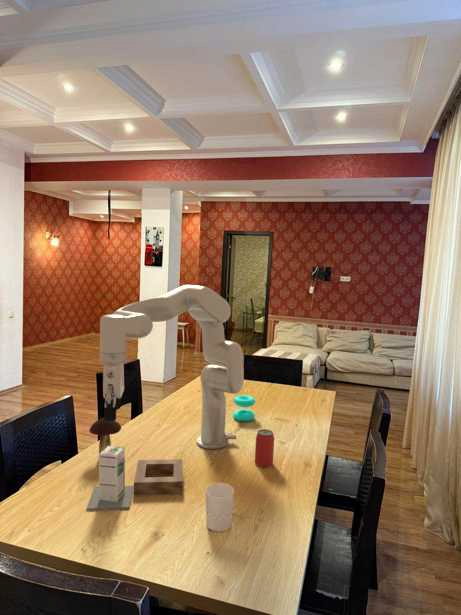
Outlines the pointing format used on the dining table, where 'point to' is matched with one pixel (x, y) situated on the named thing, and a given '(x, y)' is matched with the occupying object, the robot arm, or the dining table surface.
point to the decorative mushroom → (104, 431)
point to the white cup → (219, 506)
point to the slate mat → (108, 505)
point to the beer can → (264, 448)
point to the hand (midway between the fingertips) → (112, 414)
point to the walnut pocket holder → (159, 484)
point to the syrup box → (111, 473)
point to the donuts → (244, 413)
